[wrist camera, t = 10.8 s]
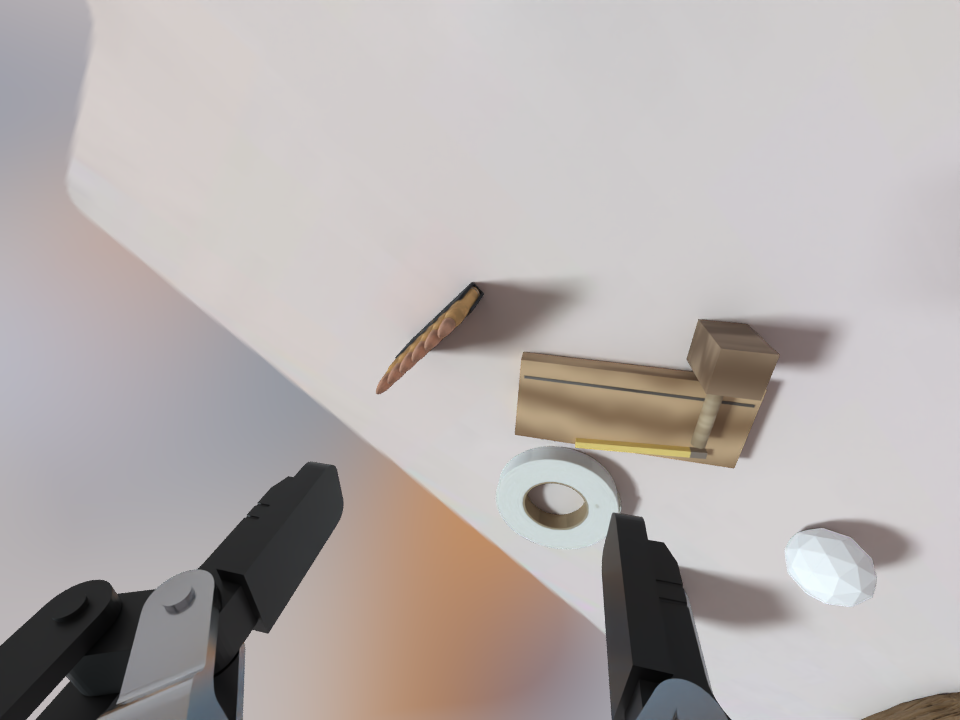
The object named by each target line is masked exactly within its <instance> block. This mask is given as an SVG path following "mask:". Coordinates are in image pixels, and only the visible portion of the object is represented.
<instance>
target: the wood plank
mask: <svg viewBox="0 0 960 720" xmlns="http://www.w3.org/2000/svg"><path fill="white" fill-rule="evenodd" d="M862 720H960V692H958V693H950V694H943V695H933V696H929V697H925V698H922V699H919V700H914V701H911V702H906V703H902V704H899V705H896V706H894V707H892V708H890V709H888V710H885V711H882V712H879V713H876V714H874V715H871V716H868V717H866V718H864V719H862Z"/></svg>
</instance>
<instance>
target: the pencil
mask: <svg viewBox="0 0 960 720" xmlns="http://www.w3.org/2000/svg"><path fill="white" fill-rule="evenodd" d="M575 448H584V449H595V450H607V451H618V452H630V453H641V454H653V455H664V456H676V457H688V458H699V459H706V457H707V451H706V449H705V448H704V449H699V448H695V447H682V446H670V445H658V444H646V443H633V442H621V441H609V440H596V439H584V438H576V441H575Z"/></svg>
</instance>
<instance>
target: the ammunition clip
mask: <svg viewBox="0 0 960 720" xmlns="http://www.w3.org/2000/svg"><path fill="white" fill-rule="evenodd" d="M483 295H484V293H483V292H482V291H481V290H480V289H479V288H478V287H477V286H476V285H475V284H474V283H473V282H472V283H470V284H469V285H468V286H467V287H466V288H465V289H464V290H463V291H462V292H461V293H460V294H459V295H458V296H457V297H456V298H455V299H454V300H453V301H452V302H450V303H449V304H448V305H447V306H446V307H445V308H444V309H443V310H442V311H441V312H440V313H439V314H438V315H437V316H436V317H435V318H434V319H433V320H432V321H430V322H429V323H428V324H427V325H426V326H425V327H424V328H423V329H422V330H421V331H420V332H419V333H418V334H417V335H416V336H415V337H414V338H413V339H412V340H411V341H410V342H409V343H408V344H407V345H406V346H405V347H404V348H403V350H402V351H401V352H400V353H399V354H398V355H397V356H396V357H395V358H396V359H395V361H394V362H393V363H392V364H391V365H390V366H389V368H388V371H387V372H386V373H385V375H384V376H383V377H382V379H381V380H380V382H379V384H378V386H377V389H376V394H381V393H383V392H385V391H386V390H387V389H389V388H390V387H391V386H392V385H393V384H394V383H395V382H396V381H397V380H399V379H400V378H401V377H402V376H403V375H404V374H405V373H406V372H407V371H408V370H410V369H411V368H412V367H413V366H414V365H415V364H416V363H417V362H418V361H419V360H420V359H422V358H423V357H424V356H425V355H426V354H427V353H428V352H429V351H430V350H431V349H432V348H434V347H435V346H436V345H438V344H439V343H440V341H441V340H442V339H443V338H445V337H446V336H447V335H449V334H450V333H451V332H452V331H453V330H454V329H455V328H456V327H457V326H458V325H460V324H461V323H462V321H463V320H464V318H465V317H467V316H468V315H469V314H470V313H471V312H472V311H473V309H474V308H475V307H476V305H477V304H478V302H479V301H480V299H481V298H482V297H483Z"/></svg>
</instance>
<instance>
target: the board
mask: <svg viewBox="0 0 960 720" xmlns="http://www.w3.org/2000/svg"><path fill="white" fill-rule="evenodd" d="M766 391H767V389H766V390H765V392H764V395H763V397H762V400H763V398H764V396H765V393H766ZM705 397H706V393H705V391H704V389H703V388H702V386H701V384H700V382H699V380H698V379H697V377H696V375H695V373H694V372H690V371H681V370H673V369H664V368H656V367H647V366H639V365H630V364H622V363H613V362H605V361H596V360H588V359H579V358H571V357H562V356H554V355H545V354H537V353H528V352H523V355H522V359H521V369H520V380H519V392H518V403H517V415H516V427H515V435H520V436H527V437H533V438H540V439H546V440H553V441H559V442H566V443H572V444H575V441H576V438H584V439H596V440H609V441H621V442H633V443H646V444H658V445H670V446H682V447H694V446H693V445H692V444H691V439H692V436H693V433H694V430H695V427H696V424H697V421H698V418H699V415H700V412H701V409H702V406H703V403H704V400H705ZM762 400H761V401H758V400H750V399H742V398H735V397H727V396H724V397H723V399H722V402H721V405H720V408H719V411H718V413H717V416H716V419H715V422H714V424H713V427H712V430H711V433H710V436H709V438H708V441H707V444H706V447H705V449H706V451H707V457H706V459H699V458H688V457H676V456H664V455H653V454H644V455H650V456H657V457H663V458H670V459H676V460H683V461H689V462H696V463H702V464H709V465H715V466H722V467H728V468H735V465H736V463H737V461H738V458H739V456H740V453H741V451H742V448H743V446H744V444H745V441H746V439H747V436H748V434H749V432H750V429H751V427H752V424H753V422H754V420H755V417H756V415H757V412H758V410H759V408H760V405H761V403H762ZM695 448H696V447H695ZM637 454H641V453H637Z"/></svg>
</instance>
